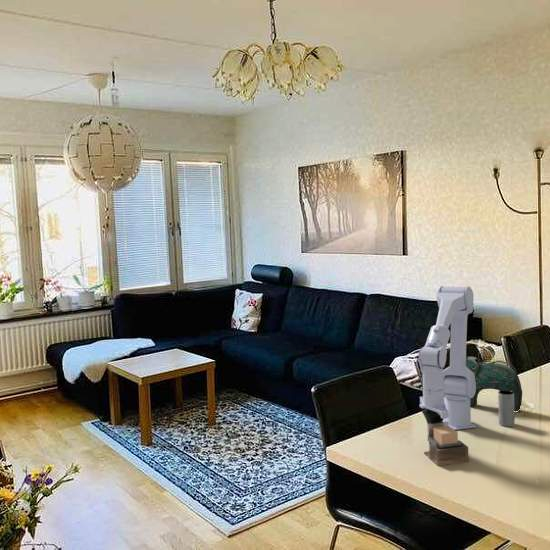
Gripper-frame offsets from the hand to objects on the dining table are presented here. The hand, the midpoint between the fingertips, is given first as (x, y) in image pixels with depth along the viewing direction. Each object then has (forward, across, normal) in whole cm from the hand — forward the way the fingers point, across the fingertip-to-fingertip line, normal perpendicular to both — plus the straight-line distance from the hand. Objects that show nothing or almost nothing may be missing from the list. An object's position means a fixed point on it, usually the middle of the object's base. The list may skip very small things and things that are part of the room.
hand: (434, 435), depth 167 cm
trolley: (+2, +6, 0) cm, 6 cm away
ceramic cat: (+4, -27, +33) cm, 43 cm away
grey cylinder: (+4, -11, +29) cm, 31 cm away
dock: (+4, +7, 0) cm, 8 cm away
